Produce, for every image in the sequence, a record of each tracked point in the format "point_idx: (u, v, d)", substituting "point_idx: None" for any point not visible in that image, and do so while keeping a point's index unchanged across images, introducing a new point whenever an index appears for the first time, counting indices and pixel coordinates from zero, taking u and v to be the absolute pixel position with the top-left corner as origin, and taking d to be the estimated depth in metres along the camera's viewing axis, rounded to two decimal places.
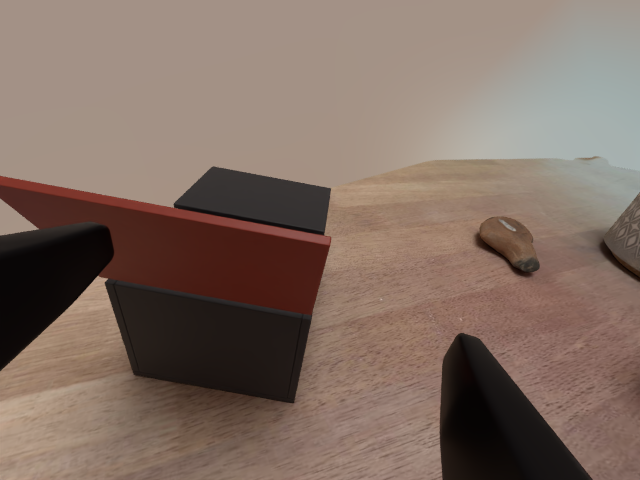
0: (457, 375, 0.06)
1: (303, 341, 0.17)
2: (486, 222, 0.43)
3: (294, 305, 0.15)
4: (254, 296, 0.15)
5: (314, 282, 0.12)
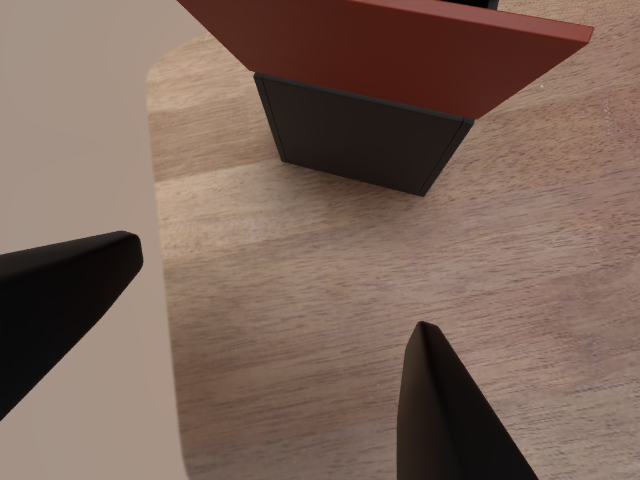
0: (414, 361, 0.06)
1: (455, 145, 0.16)
2: None
3: (464, 108, 0.13)
4: (418, 97, 0.13)
5: (515, 87, 0.10)
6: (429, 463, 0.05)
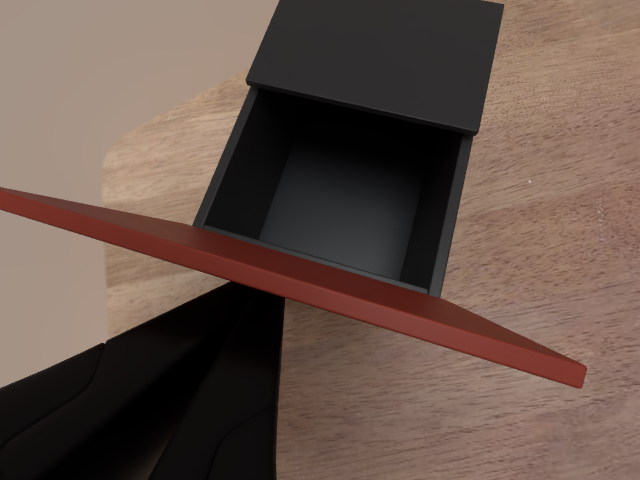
0: None
1: None
2: None
3: None
4: None
5: None
6: None
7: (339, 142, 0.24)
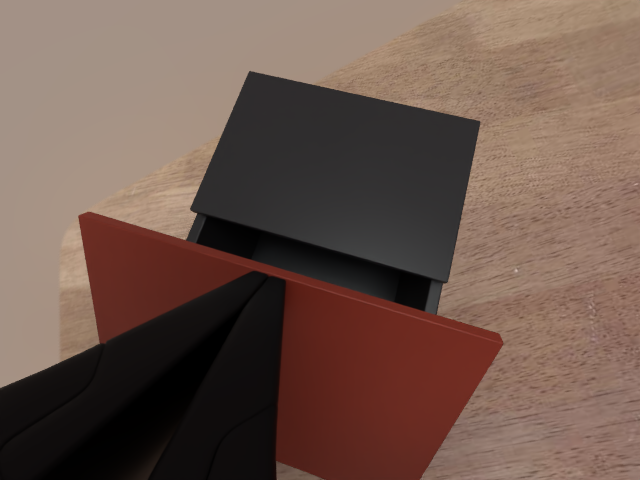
0: None
1: None
2: None
3: (385, 479, 0.10)
4: (326, 454, 0.10)
5: (444, 425, 0.08)
6: None
7: None
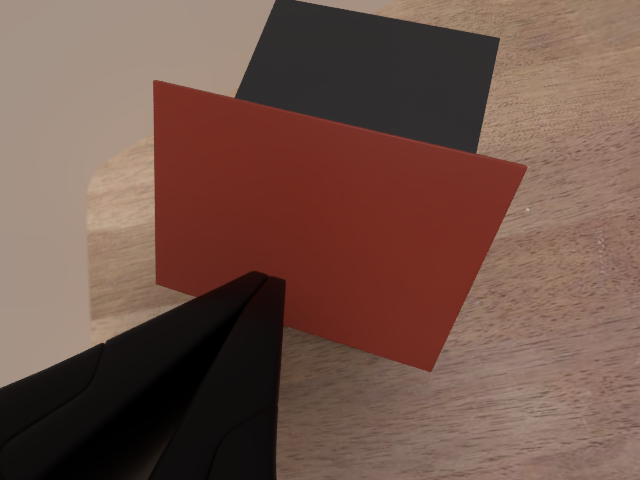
0: None
1: None
2: None
3: (416, 339, 0.11)
4: (362, 318, 0.11)
5: (473, 265, 0.09)
6: None
7: None
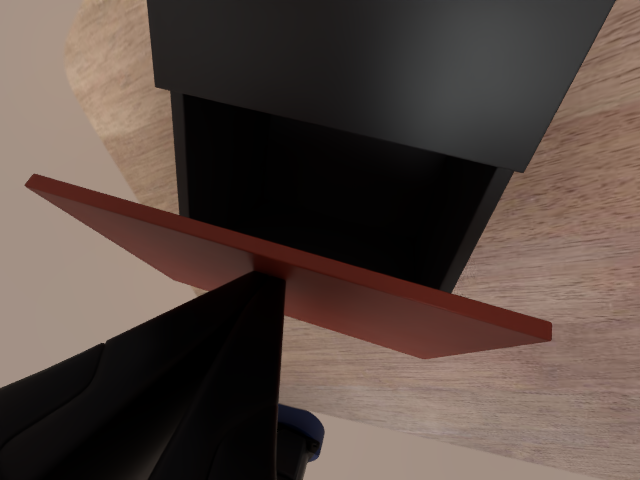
0: None
1: None
2: None
3: (409, 350, 0.11)
4: (357, 333, 0.11)
5: (465, 350, 0.08)
6: None
7: None
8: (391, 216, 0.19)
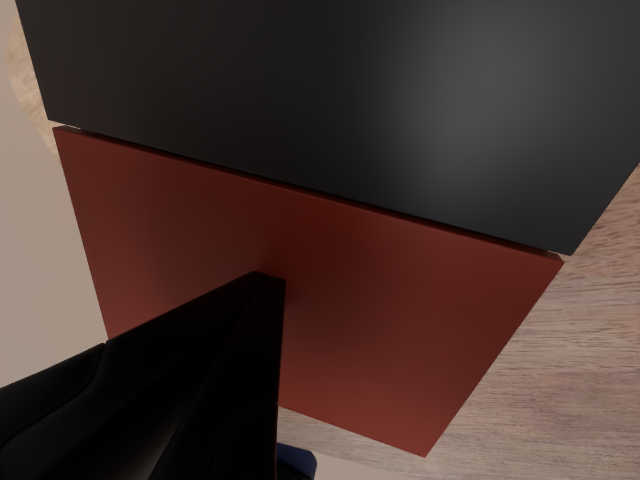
0: None
1: None
2: None
3: (407, 428, 0.09)
4: (343, 401, 0.09)
5: (480, 365, 0.07)
6: None
7: None
8: None
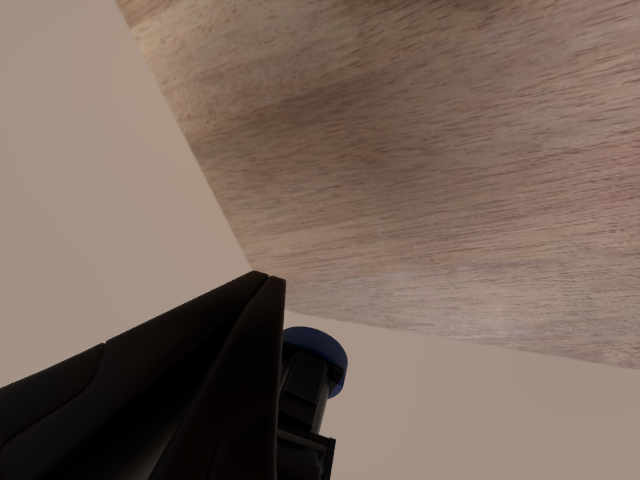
0: None
1: None
2: None
3: None
4: None
5: None
6: None
7: None
8: None
